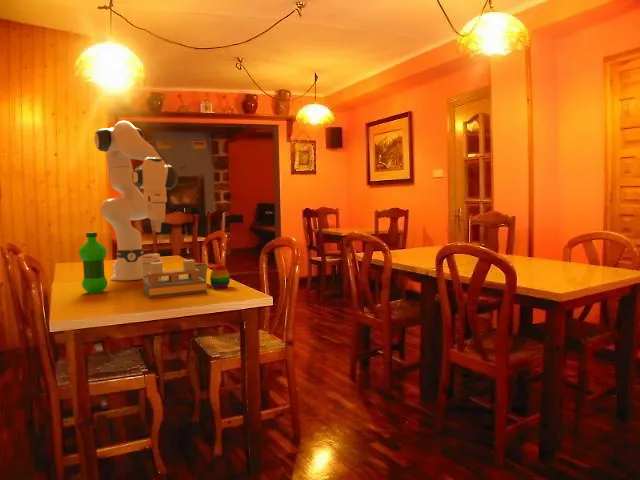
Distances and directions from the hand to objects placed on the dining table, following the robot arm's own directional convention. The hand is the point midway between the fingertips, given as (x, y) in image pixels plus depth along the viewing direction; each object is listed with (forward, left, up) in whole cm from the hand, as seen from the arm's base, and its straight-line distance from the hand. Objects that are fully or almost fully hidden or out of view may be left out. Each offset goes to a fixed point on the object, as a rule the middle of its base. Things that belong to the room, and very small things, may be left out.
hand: (156, 231), depth 221 cm
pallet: (+6, +5, -20) cm, 22 cm away
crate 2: (+6, +12, -16) cm, 21 cm away
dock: (+6, +5, -25) cm, 26 cm away
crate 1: (+6, -2, -16) cm, 18 cm away
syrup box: (-12, -1, -25) cm, 28 cm away
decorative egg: (+6, +24, -25) cm, 35 cm away
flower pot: (-8, +18, -25) cm, 32 cm away
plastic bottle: (-13, -24, -25) cm, 37 cm away
